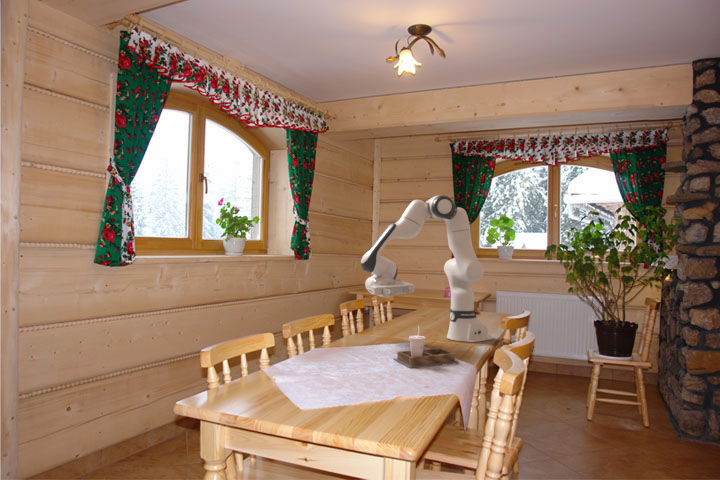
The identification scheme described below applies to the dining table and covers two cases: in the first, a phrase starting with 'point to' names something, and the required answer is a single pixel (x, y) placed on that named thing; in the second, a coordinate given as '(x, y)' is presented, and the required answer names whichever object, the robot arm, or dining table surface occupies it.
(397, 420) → the dining table surface
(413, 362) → the tray
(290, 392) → the dining table surface
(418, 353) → the smoothie
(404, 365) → the mat
